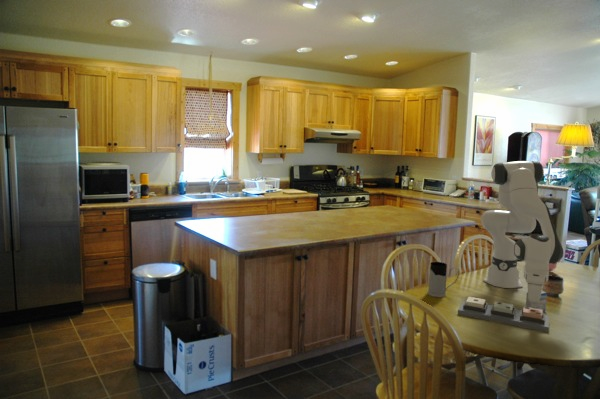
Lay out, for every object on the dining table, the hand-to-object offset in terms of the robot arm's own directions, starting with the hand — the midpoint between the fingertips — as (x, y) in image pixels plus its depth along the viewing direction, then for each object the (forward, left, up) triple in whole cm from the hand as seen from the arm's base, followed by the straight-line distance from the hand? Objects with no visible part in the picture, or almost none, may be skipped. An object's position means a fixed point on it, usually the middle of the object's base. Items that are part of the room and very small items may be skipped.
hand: (532, 307), depth 182 cm
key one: (0, -22, -3) cm, 22 cm away
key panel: (0, -11, -7) cm, 13 cm away
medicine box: (-16, +1, -7) cm, 18 cm away
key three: (0, 0, -4) cm, 4 cm away
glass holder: (-16, -39, -7) cm, 43 cm away
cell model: (-89, +2, -7) cm, 90 cm away
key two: (0, -11, -3) cm, 11 cm away
